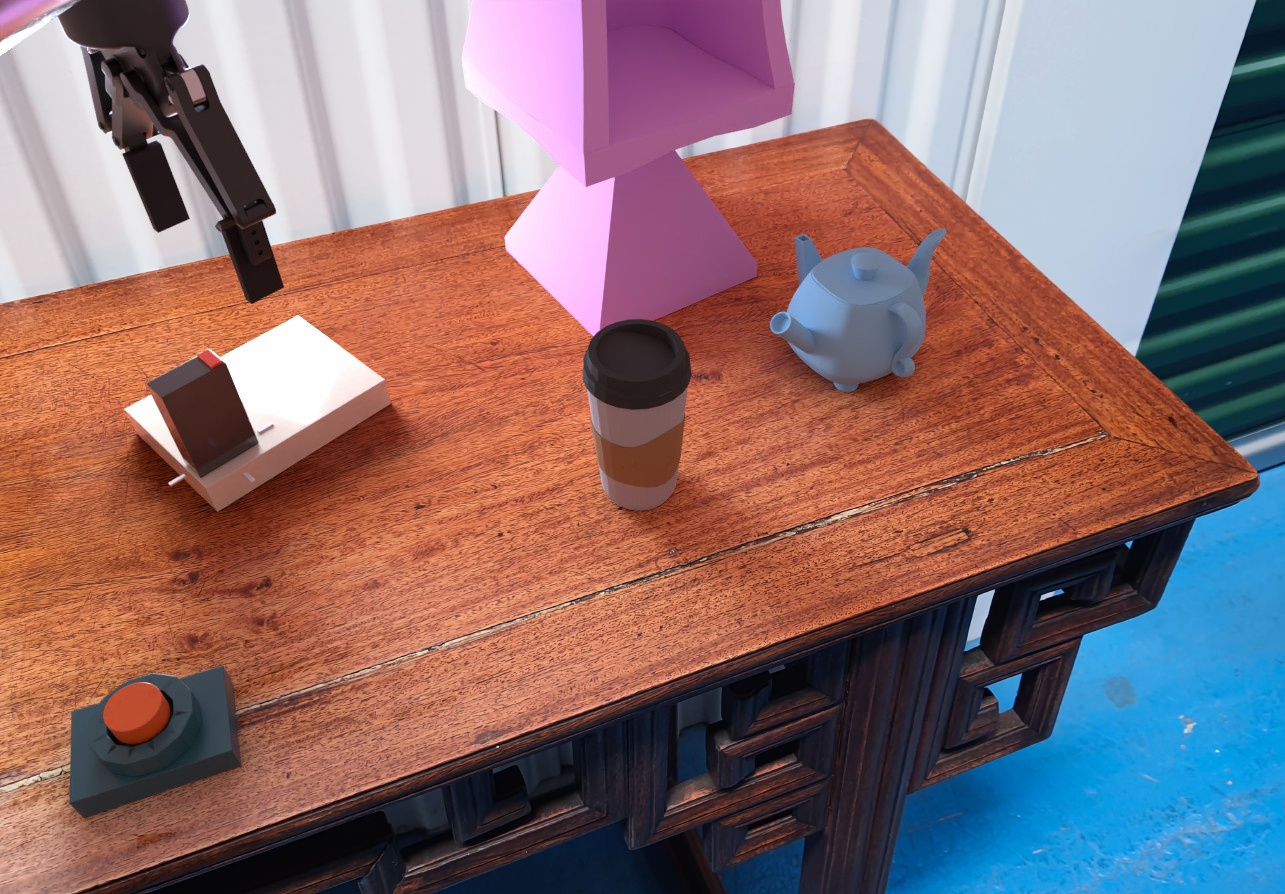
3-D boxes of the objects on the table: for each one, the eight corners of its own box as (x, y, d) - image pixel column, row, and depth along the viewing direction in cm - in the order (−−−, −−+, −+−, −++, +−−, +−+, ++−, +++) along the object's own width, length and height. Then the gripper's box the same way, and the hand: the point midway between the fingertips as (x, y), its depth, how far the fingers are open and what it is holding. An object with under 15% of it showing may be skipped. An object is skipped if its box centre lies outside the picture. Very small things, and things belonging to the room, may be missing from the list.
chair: (595, 356, 97) (564, -175, 64) (488, 248, 110) (418, -238, 78) (775, 278, 105) (826, -225, 73) (656, 186, 118) (655, -274, 86)
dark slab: (200, 478, 82) (160, 395, 75) (185, 463, 83) (144, 380, 76) (259, 443, 84) (225, 360, 78) (243, 429, 86) (208, 346, 79)
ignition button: (113, 752, 64) (102, 739, 63) (113, 706, 66) (102, 692, 65) (172, 734, 65) (162, 720, 64) (169, 688, 67) (160, 674, 66)
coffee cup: (644, 436, 89) (643, 301, 78) (708, 488, 84) (715, 352, 74) (570, 481, 85) (558, 345, 74) (633, 538, 80) (628, 403, 70)
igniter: (83, 818, 65) (56, 790, 62) (84, 727, 69) (59, 697, 66) (241, 766, 67) (223, 736, 64) (232, 681, 72) (214, 650, 69)
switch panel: (212, 539, 81) (199, 514, 79) (116, 443, 89) (102, 418, 87) (407, 415, 91) (400, 389, 89) (305, 339, 99) (297, 313, 97)
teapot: (789, 298, 103) (800, 203, 94) (924, 320, 100) (948, 223, 92) (761, 396, 92) (771, 298, 84) (911, 422, 90) (936, 323, 82)
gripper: (272, -2, 56) (354, 302, 71) (73, -96, 68) (179, 180, 83) (148, 40, 52) (262, 352, 67) (-39, -68, 64) (93, 216, 79)
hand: (216, 257), depth 75 cm, fingers open, 13 cm apart
